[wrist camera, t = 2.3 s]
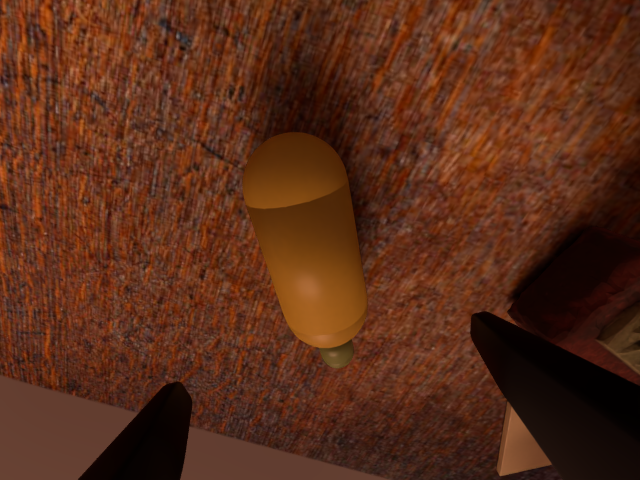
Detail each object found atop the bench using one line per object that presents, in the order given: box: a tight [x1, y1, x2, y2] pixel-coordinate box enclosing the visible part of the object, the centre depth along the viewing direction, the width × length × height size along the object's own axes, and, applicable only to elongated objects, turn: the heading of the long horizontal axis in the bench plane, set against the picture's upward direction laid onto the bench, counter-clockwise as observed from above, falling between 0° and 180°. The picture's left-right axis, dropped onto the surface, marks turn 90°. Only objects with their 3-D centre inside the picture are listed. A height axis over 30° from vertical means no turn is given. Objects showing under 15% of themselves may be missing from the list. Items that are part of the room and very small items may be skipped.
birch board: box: [497, 401, 552, 476], centre depth 26 cm, size 11×15×1 cm
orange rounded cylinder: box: [242, 132, 368, 368], centre depth 14 cm, size 14×5×5 cm, turn 11°
